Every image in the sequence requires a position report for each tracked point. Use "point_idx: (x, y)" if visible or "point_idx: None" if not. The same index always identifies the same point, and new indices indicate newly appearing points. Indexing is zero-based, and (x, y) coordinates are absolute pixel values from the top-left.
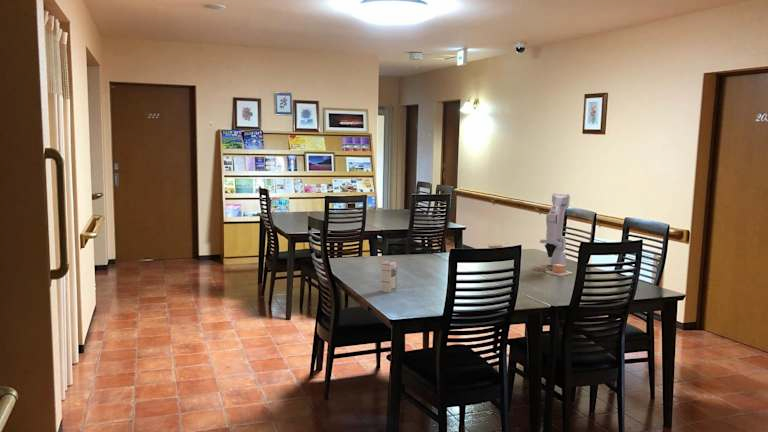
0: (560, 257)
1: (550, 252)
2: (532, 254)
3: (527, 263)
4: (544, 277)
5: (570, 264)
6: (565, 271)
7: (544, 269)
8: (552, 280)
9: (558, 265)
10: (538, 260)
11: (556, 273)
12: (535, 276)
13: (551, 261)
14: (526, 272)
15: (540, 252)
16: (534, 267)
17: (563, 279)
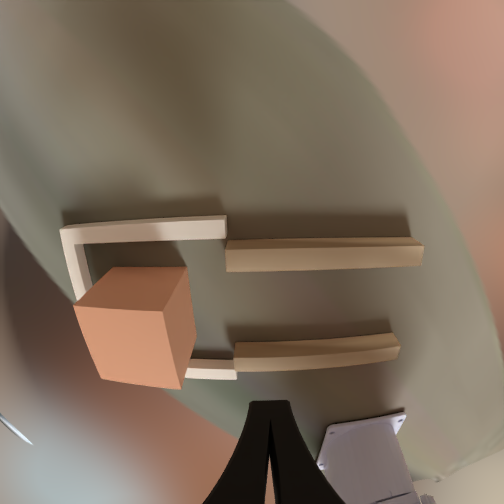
0: (333, 488)
1: (228, 466)
2: (495, 434)
3: (494, 336)
4: (85, 56)
5: None
6: None
7: (267, 247)
8: (14, 67)
9: (105, 323)
10: (464, 419)
11: (92, 226)
12: (149, 4)
13: (377, 440)
14: (327, 41)
15: (477, 460)
16: (400, 242)
17: (2, 166)
